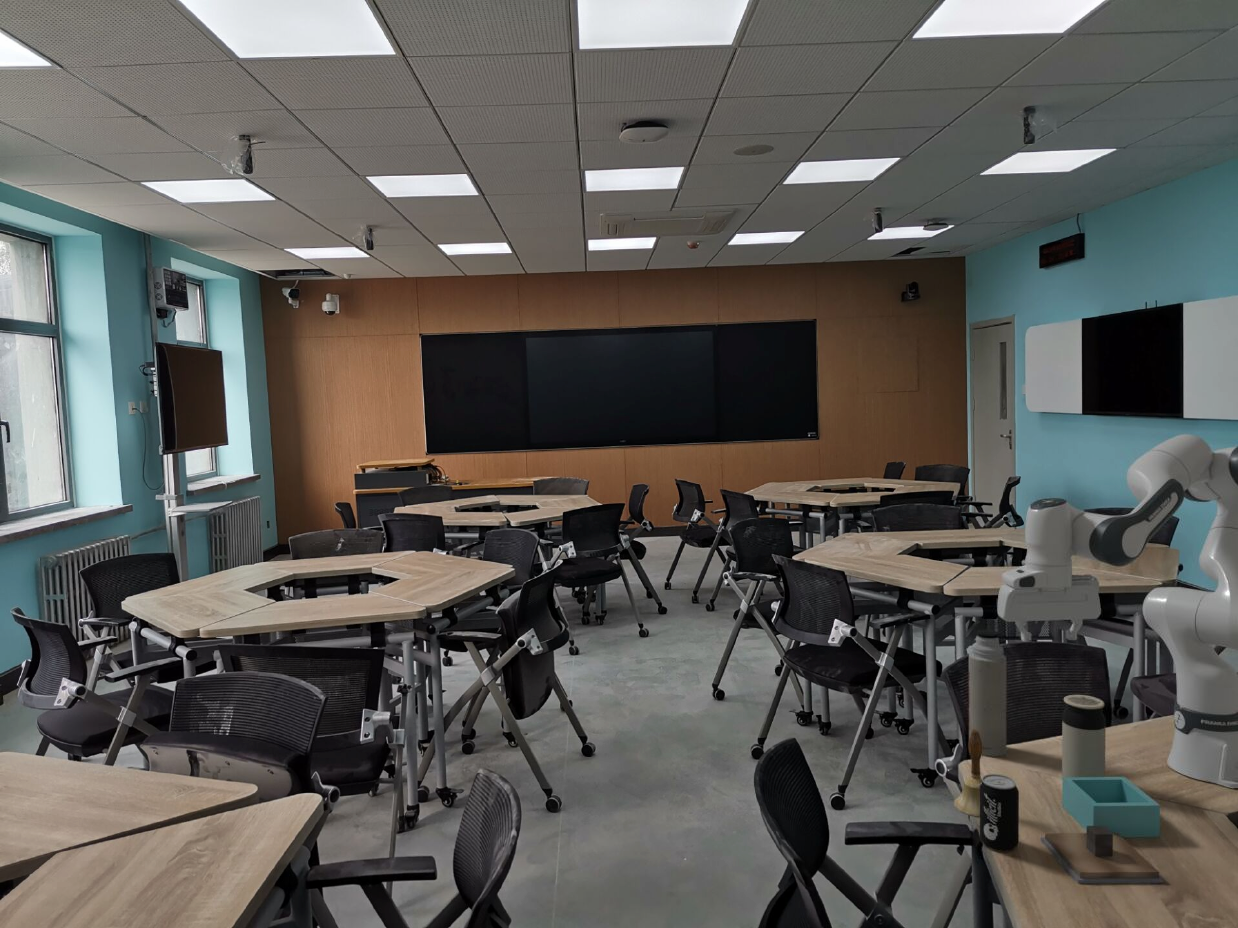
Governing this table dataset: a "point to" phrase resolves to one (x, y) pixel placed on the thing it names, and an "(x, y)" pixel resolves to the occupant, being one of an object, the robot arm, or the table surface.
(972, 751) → the hand bell
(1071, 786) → the dish
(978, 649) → the thermos bottle
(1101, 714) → the travel mug
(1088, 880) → the tray
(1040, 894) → the table surface
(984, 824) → the beverage can
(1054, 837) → the lid
